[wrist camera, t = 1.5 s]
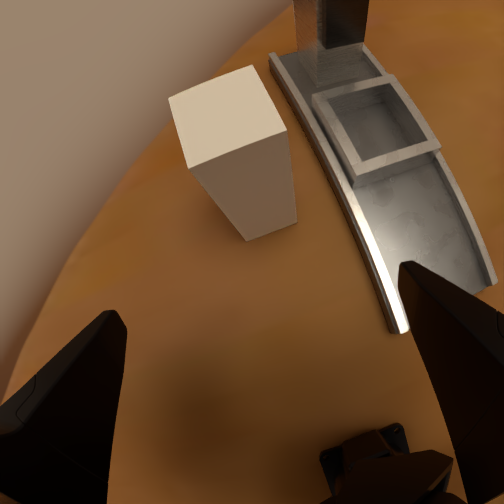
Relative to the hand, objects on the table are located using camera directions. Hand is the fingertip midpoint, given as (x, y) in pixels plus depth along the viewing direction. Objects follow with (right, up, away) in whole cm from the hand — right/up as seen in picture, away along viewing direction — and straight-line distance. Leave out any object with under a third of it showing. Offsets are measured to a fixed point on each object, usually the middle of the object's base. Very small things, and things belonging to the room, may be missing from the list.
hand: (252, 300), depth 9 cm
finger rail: (+10, +8, +14) cm, 19 cm away
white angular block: (+1, +5, +15) cm, 16 cm away
